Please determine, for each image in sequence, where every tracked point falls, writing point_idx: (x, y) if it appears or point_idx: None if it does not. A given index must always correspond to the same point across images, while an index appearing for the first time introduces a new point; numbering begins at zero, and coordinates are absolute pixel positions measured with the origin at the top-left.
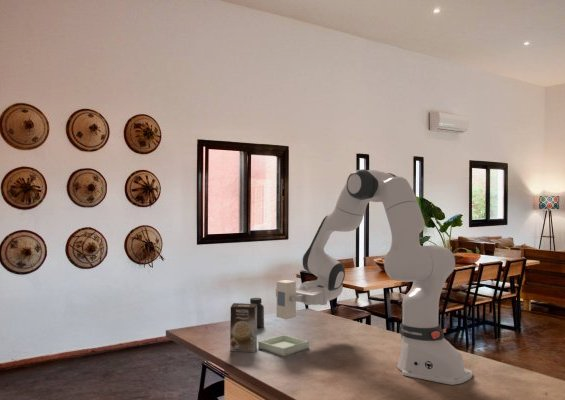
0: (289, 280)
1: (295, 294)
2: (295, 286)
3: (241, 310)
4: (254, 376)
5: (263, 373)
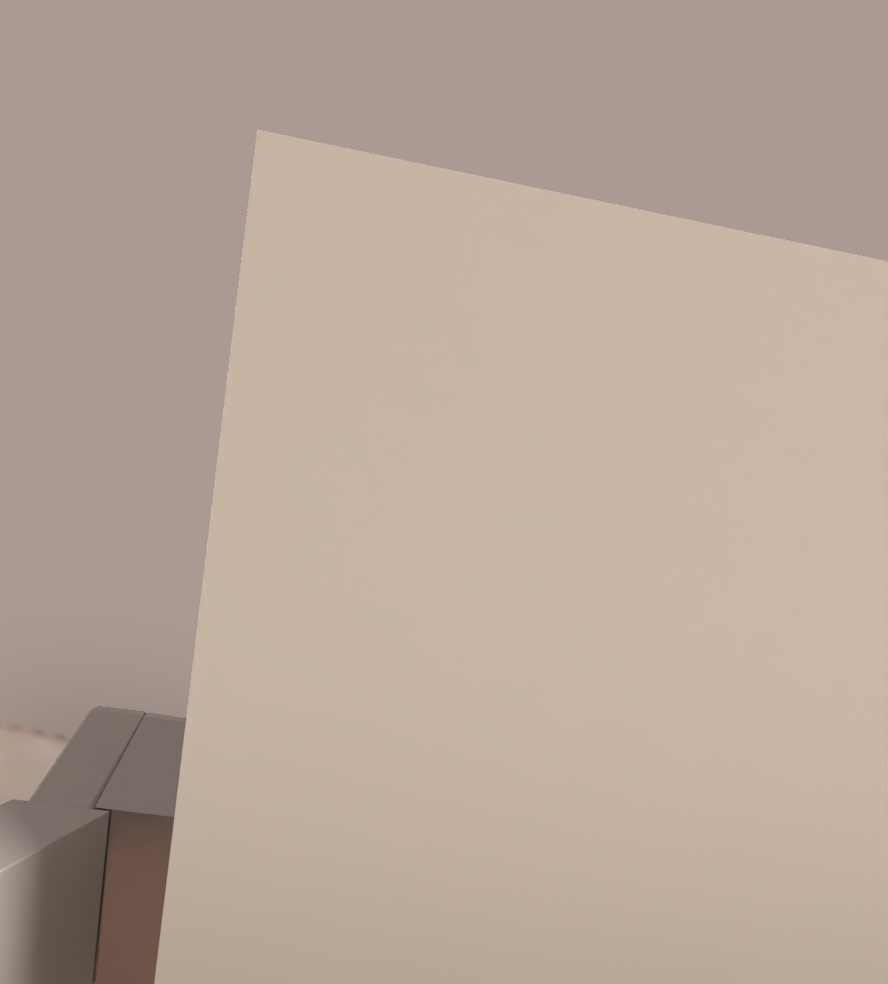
0: (824, 253)
1: (165, 920)
2: (219, 488)
3: None
4: (44, 736)
5: (8, 786)
